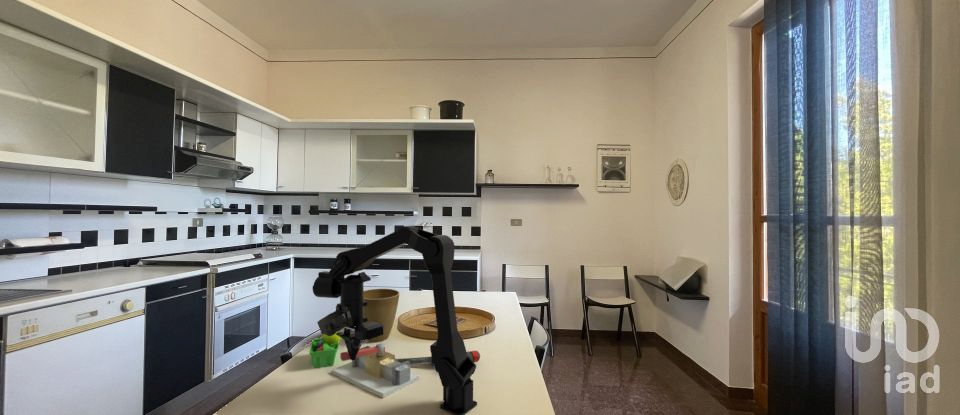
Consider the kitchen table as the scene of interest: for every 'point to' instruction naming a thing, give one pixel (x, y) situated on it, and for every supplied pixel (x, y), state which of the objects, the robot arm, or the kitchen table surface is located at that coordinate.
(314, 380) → the kitchen table surface
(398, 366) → the pipe valve
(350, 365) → the mounting board
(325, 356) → the fruit basket
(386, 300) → the plant pot
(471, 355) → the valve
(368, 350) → the lever
